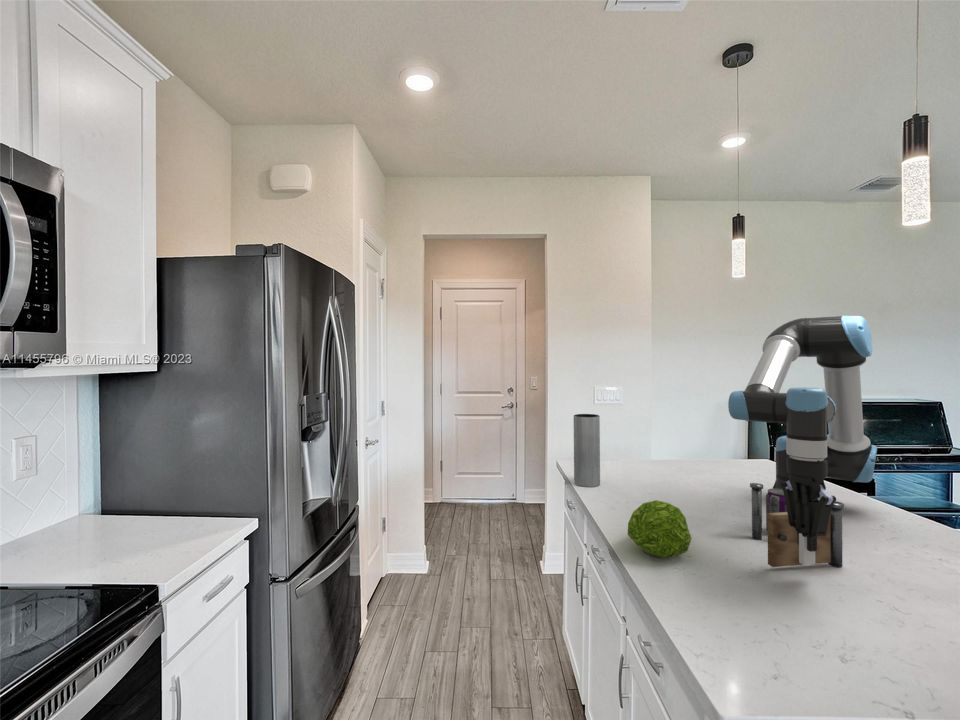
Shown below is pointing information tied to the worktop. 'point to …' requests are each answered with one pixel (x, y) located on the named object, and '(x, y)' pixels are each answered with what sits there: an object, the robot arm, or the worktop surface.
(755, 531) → the post
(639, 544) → the lettuce
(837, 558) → the hinge post
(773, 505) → the beverage can
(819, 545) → the gate
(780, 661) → the worktop surface
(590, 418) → the vase
